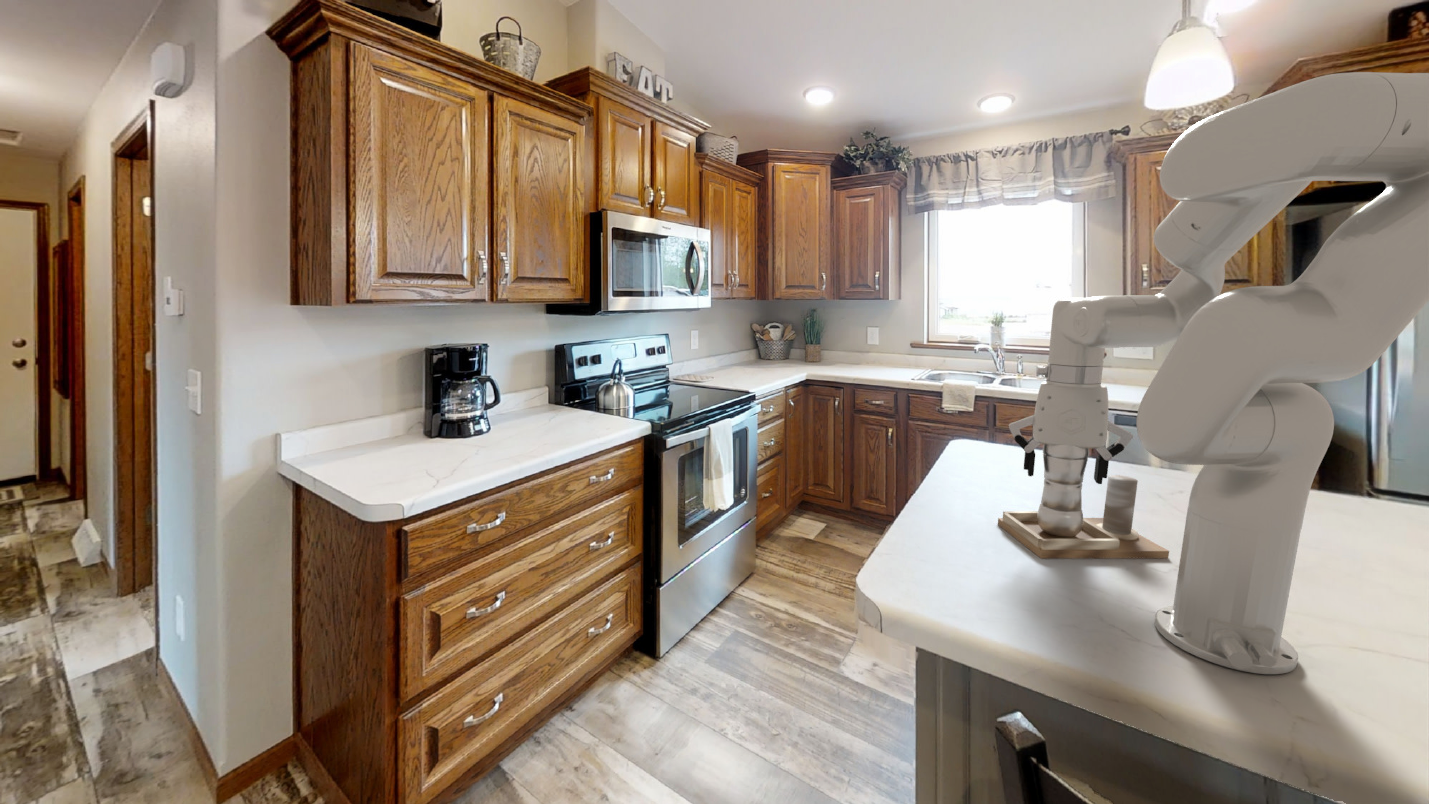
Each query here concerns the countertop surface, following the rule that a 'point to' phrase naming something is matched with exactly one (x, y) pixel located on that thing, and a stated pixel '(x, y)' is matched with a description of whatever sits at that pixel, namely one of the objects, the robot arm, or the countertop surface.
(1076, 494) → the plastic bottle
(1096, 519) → the board
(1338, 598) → the countertop surface
